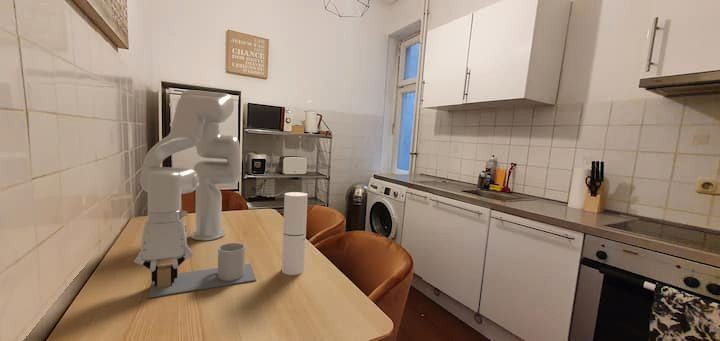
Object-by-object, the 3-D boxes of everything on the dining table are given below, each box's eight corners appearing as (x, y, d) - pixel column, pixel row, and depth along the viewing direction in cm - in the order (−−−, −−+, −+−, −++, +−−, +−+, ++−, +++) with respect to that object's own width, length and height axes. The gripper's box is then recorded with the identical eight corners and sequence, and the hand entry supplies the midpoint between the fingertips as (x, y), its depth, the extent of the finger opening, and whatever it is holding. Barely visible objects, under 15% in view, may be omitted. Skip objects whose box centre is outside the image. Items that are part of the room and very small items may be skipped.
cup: (225, 284, 81) (226, 253, 80) (208, 273, 87) (208, 244, 86) (249, 275, 87) (249, 247, 86) (231, 266, 93) (231, 239, 92)
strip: (155, 277, 83) (154, 259, 83) (250, 264, 96) (250, 248, 95) (147, 298, 73) (147, 277, 72) (256, 280, 85) (256, 263, 85)
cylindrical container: (277, 269, 94) (280, 193, 91) (295, 263, 99) (298, 191, 97) (289, 277, 89) (293, 197, 87) (308, 270, 94) (312, 194, 92)
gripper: (199, 211, 85) (199, 271, 87) (129, 215, 77) (130, 281, 79) (199, 217, 78) (198, 282, 80) (122, 222, 71) (123, 294, 72)
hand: (164, 281), depth 79 cm, fingers closed on strip, 3 cm apart
